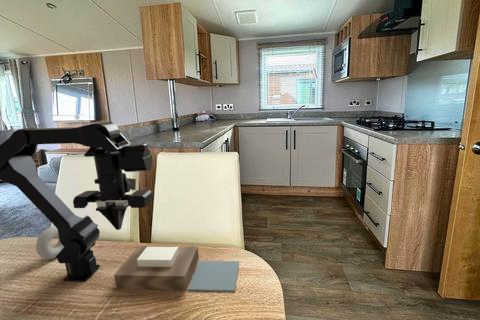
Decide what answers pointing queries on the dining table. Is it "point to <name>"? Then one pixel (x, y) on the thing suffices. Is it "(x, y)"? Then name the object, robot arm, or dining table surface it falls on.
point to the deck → (158, 271)
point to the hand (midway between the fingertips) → (118, 229)
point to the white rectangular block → (158, 257)
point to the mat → (215, 276)
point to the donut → (48, 243)
